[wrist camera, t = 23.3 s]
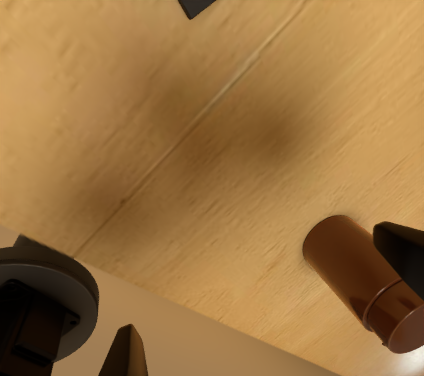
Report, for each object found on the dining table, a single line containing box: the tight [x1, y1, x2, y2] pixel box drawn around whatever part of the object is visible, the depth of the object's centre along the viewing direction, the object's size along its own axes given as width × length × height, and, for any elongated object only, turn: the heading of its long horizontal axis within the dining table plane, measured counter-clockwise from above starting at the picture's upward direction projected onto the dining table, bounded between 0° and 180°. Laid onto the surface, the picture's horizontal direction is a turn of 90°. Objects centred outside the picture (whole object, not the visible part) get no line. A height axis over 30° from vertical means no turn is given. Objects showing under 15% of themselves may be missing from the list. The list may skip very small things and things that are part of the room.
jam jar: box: [303, 215, 424, 354], centre depth 23 cm, size 6×6×10 cm
